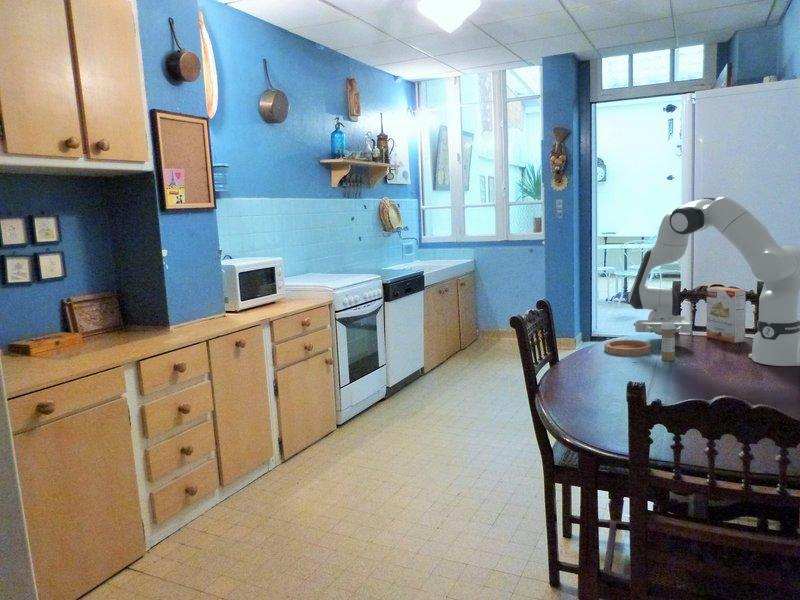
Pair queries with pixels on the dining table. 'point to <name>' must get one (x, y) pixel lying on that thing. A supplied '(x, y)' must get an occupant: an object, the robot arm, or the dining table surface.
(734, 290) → the cracker box
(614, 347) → the terracotta saucer
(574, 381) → the dining table surface
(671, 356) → the sprinkles bottle
